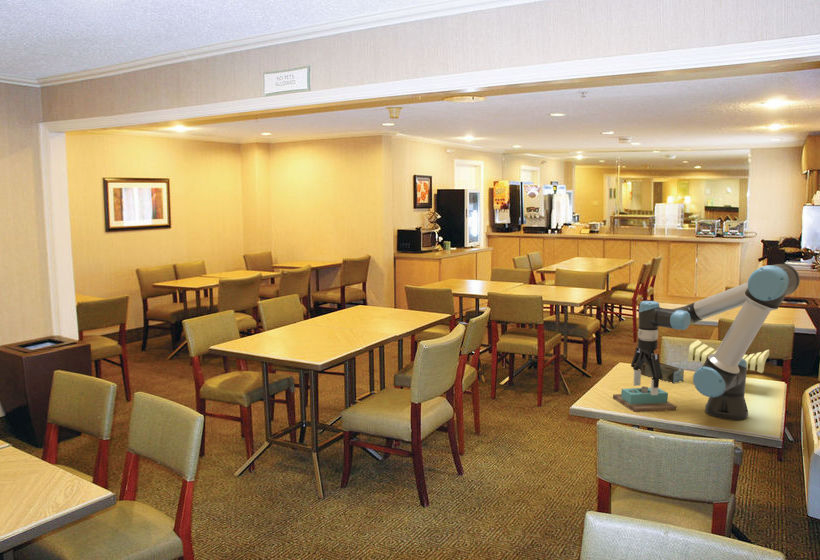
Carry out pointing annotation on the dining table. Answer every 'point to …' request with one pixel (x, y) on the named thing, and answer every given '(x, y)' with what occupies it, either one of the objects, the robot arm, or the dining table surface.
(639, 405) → the post base
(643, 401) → the teal block with holes
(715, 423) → the dining table surface
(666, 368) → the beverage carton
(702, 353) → the slatted curved stool
